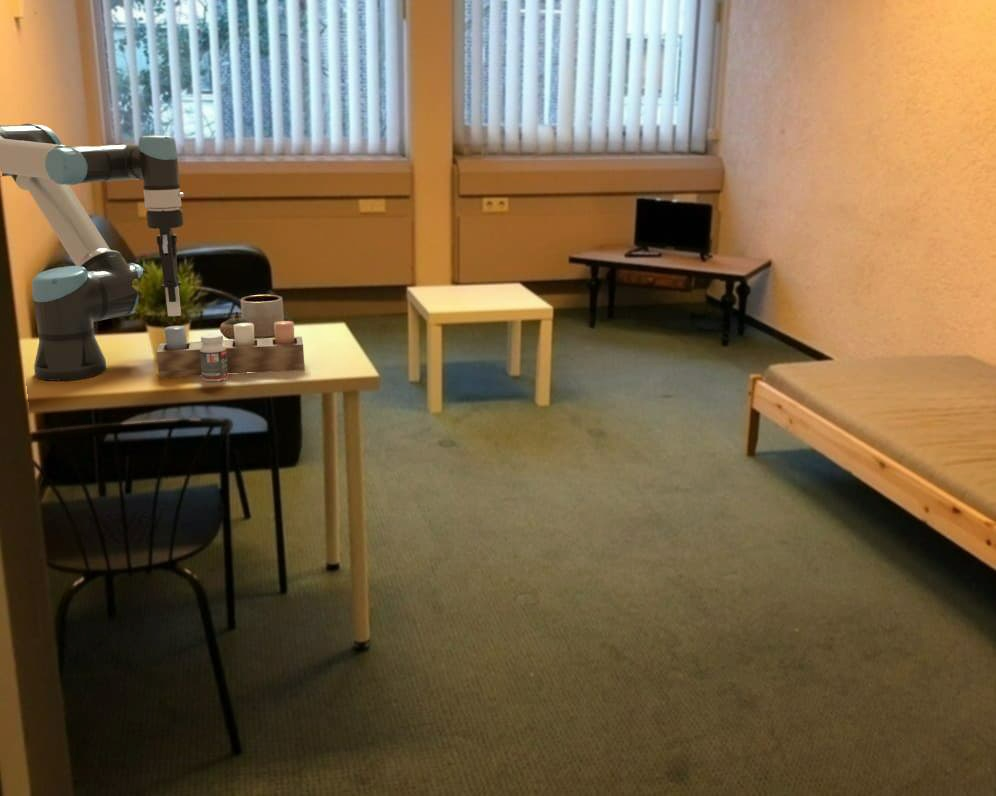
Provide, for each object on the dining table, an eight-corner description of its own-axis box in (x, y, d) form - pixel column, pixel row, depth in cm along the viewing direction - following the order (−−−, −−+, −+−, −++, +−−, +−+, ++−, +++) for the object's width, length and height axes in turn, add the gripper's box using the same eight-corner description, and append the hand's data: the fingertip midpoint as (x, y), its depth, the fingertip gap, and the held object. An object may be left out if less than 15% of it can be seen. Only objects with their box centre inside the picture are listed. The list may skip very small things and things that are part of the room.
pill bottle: (228, 381, 223) (225, 337, 220) (202, 383, 221) (198, 339, 218) (228, 374, 228) (224, 331, 225) (201, 376, 227) (198, 333, 224)
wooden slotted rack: (159, 377, 225) (156, 351, 224) (162, 368, 233) (159, 343, 231) (304, 369, 232) (303, 344, 230) (303, 361, 240) (301, 336, 238)
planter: (250, 328, 273) (248, 293, 270) (290, 329, 272) (287, 294, 269) (236, 338, 262) (234, 301, 260) (277, 339, 261) (275, 302, 259)
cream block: (235, 351, 229) (233, 327, 228) (235, 346, 233) (233, 323, 232) (255, 350, 230) (253, 326, 229) (255, 345, 234) (253, 322, 233)
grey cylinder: (166, 354, 226) (163, 330, 224) (167, 350, 230) (165, 326, 229) (186, 353, 227) (184, 329, 225) (187, 349, 231) (185, 325, 229)
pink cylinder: (275, 349, 231) (274, 325, 230) (275, 344, 235) (273, 321, 234) (295, 348, 232) (293, 324, 230) (294, 343, 236) (293, 320, 235)
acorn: (215, 351, 249) (212, 311, 246) (244, 345, 255) (241, 306, 252) (234, 356, 243) (230, 316, 241) (263, 350, 249) (260, 311, 246)
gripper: (179, 211, 214) (190, 320, 221) (184, 205, 226) (193, 308, 233) (142, 212, 212) (154, 322, 219) (149, 206, 225) (159, 310, 231)
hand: (174, 315), depth 226 cm, fingers closed
